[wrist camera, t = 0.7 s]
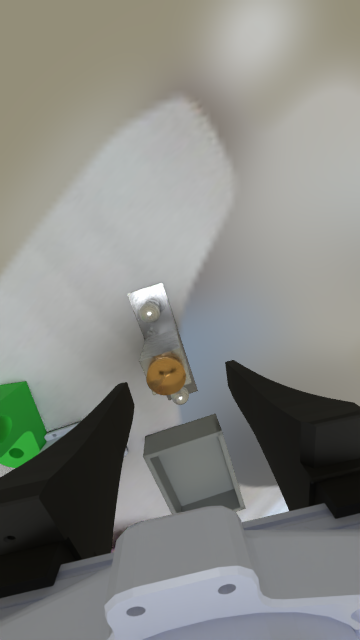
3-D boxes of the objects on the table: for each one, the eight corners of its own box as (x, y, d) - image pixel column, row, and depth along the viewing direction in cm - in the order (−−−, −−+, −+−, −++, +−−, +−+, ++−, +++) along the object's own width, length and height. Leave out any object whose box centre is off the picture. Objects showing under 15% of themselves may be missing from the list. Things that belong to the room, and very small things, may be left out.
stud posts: (168, 398, 25) (169, 423, 20) (127, 293, 20) (118, 298, 16) (197, 389, 25) (203, 411, 20) (162, 282, 20) (161, 284, 16)
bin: (178, 506, 31) (180, 530, 28) (145, 436, 26) (143, 456, 23) (237, 486, 31) (245, 508, 28) (215, 413, 26) (221, 430, 23)
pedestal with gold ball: (156, 364, 23) (152, 402, 16) (146, 338, 21) (137, 366, 15) (184, 355, 23) (193, 389, 16) (175, 328, 22) (180, 352, 15)
